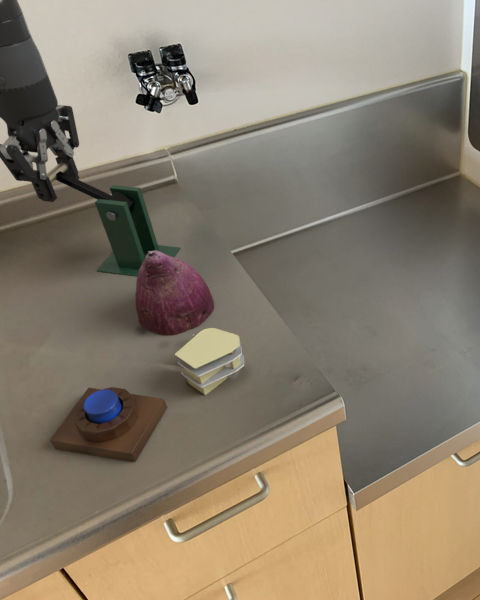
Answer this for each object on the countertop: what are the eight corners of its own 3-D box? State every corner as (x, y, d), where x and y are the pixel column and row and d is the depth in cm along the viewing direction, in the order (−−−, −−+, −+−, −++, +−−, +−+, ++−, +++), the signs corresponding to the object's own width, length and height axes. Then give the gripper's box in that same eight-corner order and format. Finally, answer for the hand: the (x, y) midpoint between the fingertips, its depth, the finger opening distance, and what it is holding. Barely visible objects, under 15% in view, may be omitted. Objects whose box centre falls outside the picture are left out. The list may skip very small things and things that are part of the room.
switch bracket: (98, 276, 94) (70, 206, 86) (125, 246, 100) (100, 177, 92) (159, 284, 93) (136, 213, 85) (182, 253, 99) (163, 184, 91)
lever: (39, 186, 87) (39, 174, 85) (59, 169, 90) (60, 157, 89) (121, 225, 89) (123, 213, 87) (137, 206, 92) (140, 194, 91)
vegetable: (205, 354, 87) (188, 296, 74) (132, 344, 86) (102, 283, 74) (224, 294, 92) (212, 230, 80) (156, 284, 92) (132, 218, 80)
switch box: (55, 448, 71) (43, 430, 68) (92, 396, 77) (83, 377, 74) (135, 462, 69) (126, 443, 67) (167, 407, 75) (160, 389, 73)
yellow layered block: (209, 417, 74) (200, 387, 71) (163, 383, 78) (152, 353, 75) (269, 369, 80) (264, 339, 77) (224, 339, 84) (216, 310, 81)
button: (82, 421, 70) (77, 411, 69) (99, 397, 73) (94, 387, 71) (111, 425, 69) (106, 416, 68) (127, 401, 72) (123, 391, 71)
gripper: (23, 53, 84) (65, 164, 95) (-53, 94, 74) (6, 214, 85) (73, 57, 83) (110, 168, 95) (4, 99, 73) (55, 219, 84)
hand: (60, 189), depth 90 cm, fingers closed on lever, 5 cm apart
